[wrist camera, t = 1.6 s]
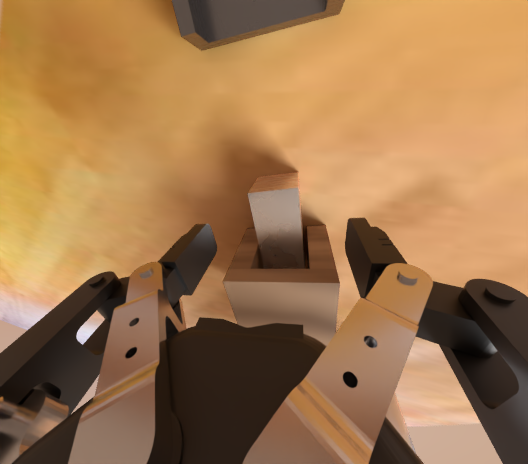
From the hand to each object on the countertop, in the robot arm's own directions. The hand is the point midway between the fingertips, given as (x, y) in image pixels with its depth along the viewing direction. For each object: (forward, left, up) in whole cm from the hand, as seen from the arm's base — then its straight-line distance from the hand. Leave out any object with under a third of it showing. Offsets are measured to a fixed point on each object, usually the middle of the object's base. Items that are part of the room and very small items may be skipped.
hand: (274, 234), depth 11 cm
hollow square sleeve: (-9, +4, -9) cm, 14 cm away
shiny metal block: (-4, +2, -10) cm, 11 cm away
